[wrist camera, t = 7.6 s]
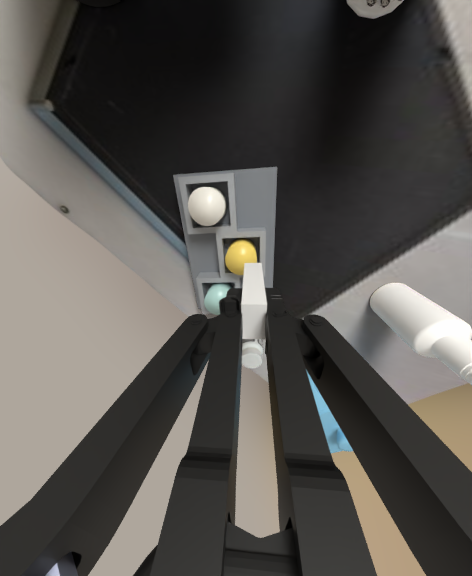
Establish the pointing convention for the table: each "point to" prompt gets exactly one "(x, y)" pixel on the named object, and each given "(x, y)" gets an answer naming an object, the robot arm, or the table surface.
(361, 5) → the decorative candle
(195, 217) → the button ivory
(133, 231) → the table surface
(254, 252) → the button mustard
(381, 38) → the table surface
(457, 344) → the spray bottle
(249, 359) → the pill bottle
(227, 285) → the button teal
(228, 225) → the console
